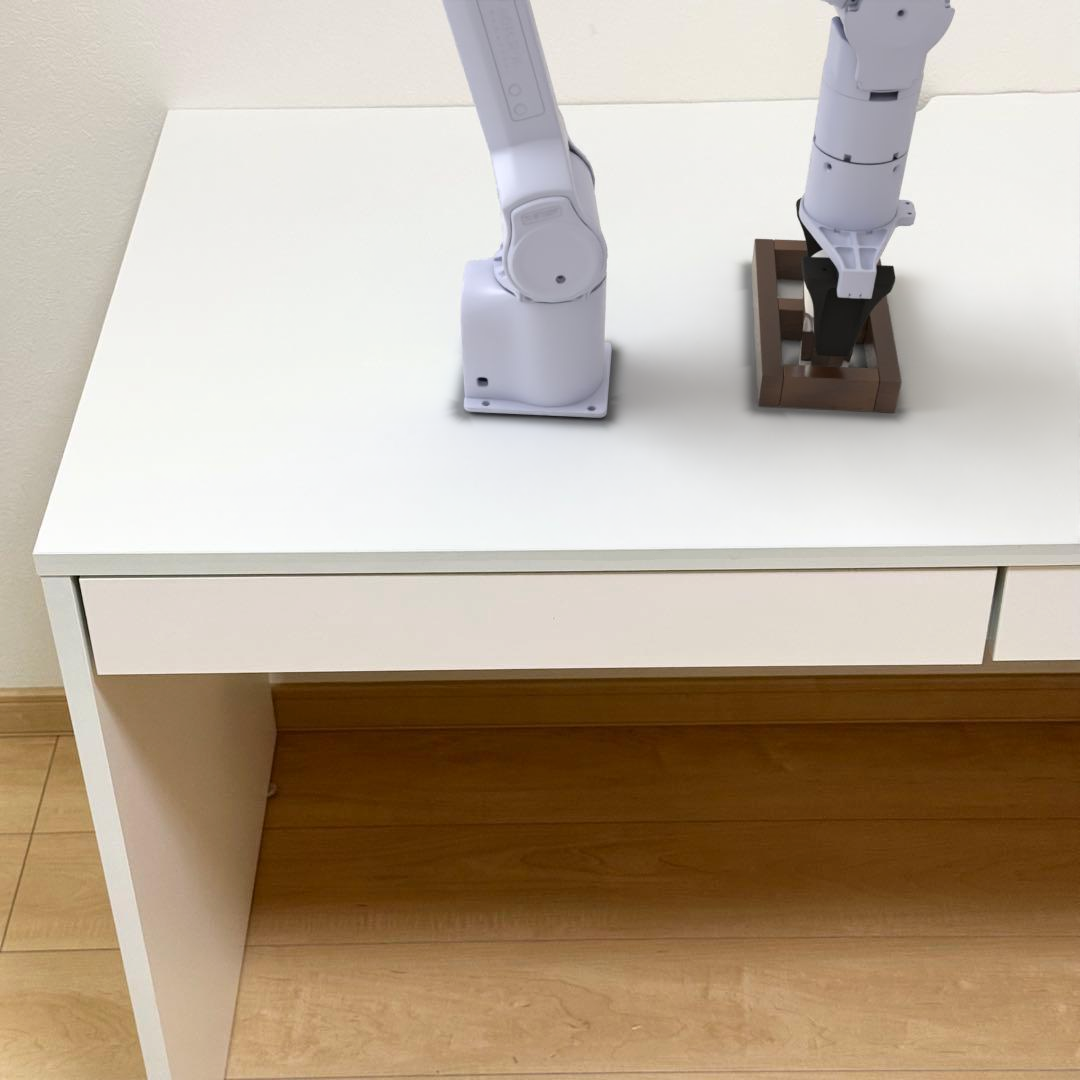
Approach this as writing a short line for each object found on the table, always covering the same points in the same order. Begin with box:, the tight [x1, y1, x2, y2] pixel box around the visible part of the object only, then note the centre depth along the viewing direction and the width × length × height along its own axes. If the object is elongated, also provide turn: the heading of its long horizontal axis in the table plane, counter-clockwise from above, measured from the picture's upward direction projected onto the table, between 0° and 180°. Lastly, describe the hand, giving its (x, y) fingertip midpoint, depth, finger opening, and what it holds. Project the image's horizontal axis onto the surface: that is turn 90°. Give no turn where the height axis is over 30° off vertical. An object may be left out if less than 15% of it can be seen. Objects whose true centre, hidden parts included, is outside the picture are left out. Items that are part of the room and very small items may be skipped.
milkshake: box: [798, 250, 857, 367], centre depth 90 cm, size 5×5×10 cm
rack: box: [750, 238, 903, 414], centre depth 95 cm, size 9×17×3 cm, turn 175°
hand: (828, 328), depth 91 cm, fingers closed on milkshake, 5 cm apart
